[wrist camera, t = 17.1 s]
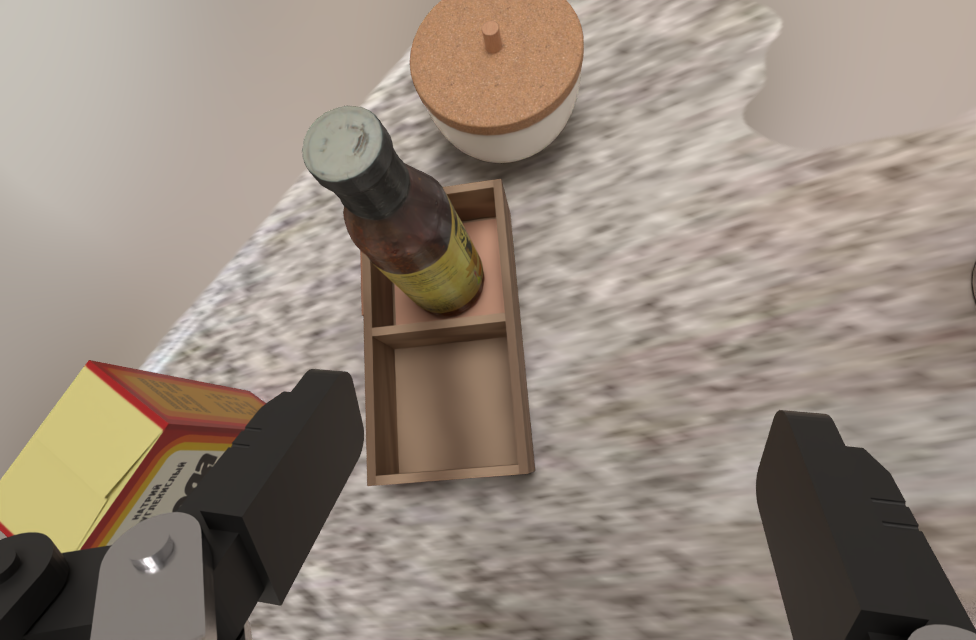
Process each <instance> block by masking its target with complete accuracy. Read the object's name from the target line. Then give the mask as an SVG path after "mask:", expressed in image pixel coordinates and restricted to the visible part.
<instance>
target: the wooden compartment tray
mask: <svg viewBox="0 0 976 640" xmlns="http://www.w3.org/2000/svg"><path fill="white" fill-rule="evenodd" d="M443 189H444V191H445V192H446V194H447V196H448V198H449V199H450V201H451V203H452V205H453V207H454V209H455V211H456V213H457V215H458V216H459V218H460V219H461V222H462V223H463V226H464V228H465V229H466V232H467V233H468V235H469V237H470V239H471V241H472V243H473V245H474V247H475V249H476V250H477V252H478V254H479V256H480V258H481V261H482V266H483V272H484V277H485V280H484V285H483V290H482V292H481V295H480V297H479V298H478V300H477V301H476V302H475V303H474V304H473V305H472V306H471V307H470V308H468V309H467V310H465V311H463V312H462V313H460V314H457V315H454V316H442V315H435V314H432V313H430V312H427V311H426V310H424V309H422V308H421V307H419V306H418V305H417V304H416V303H414V302H413V301H412V300H411V299H410V298H409V297H408V296H407V295H406V294H405V293H404V292H403V291H401V290H400V289H399V288H398V287H397V286H396V285H395V284H394V283H393V282H392V281H391V280H390V279H389V278H387V277H386V276H385V275H384V274H383V273H382V272H381V271H380V270H379V269H378V268H377V267H376V266H375V265H374V264H373V263H372V262H371V261H370V260H369V259H368V257H367V256H366V255H365V254H364V253H362V252H361V250H360V255H361V302H362V316H364V359H365V404H366V450H367V486H375V485H388V484H401V483H414V482H427V481H440V480H453V479H466V478H479V477H491V476H504V475H517V474H529V473H531V472H534V471H535V464H534V454H533V443H532V433H531V423H530V412H529V402H528V391H527V381H526V371H525V360H524V350H523V340H522V329H521V319H520V309H519V298H518V288H517V278H516V267H515V257H514V247H513V236H512V226H511V215H510V210H509V207H508V203H507V199H506V195H505V192H504V188H503V184H502V180H501V179H495V180H488V181H481V182H474V183H468V184H461V185H454V186H447V187H443Z"/></svg>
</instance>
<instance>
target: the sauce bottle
mask: <svg viewBox="0 0 976 640" xmlns="http://www.w3.org/2000/svg"><path fill="white" fill-rule="evenodd" d="M302 152H303V159H304V163H305V165H306V167H307V169H308V170H309V172H310V173H311V174H312V175H313V176H314V178H315V179H316V180H317V181H318V182H319V183H320V184H321V185H322V186H323V187H325V188H327V189H328V190H330V191H332V192H334V193H335V194H336V195H337V196H338V197H339V198H340V199H341V202H342V204H343V205H344V211H343V214H344V220H345V224H346V227H347V230H348V233H349V235H350V237H351V239H352V240H353V242H354V243H355V245H356V246H357V247H358V248H359V249H360V250H361V252H362V253H364V254H365V255H366V256H367V257H368V259H369V260H370V261H371V262H372V263H373V264H374V265H375V266H376V267H377V268H378V269H379V270H380V271H381V272H382V273H383V274H384V275H385V276H386V277H387V278H389V279H390V280H391V281H392V282H393V283H394V284H395V285H396V286H397V287H398V288H399V289H400V290H401V291H403V292H404V293H405V294H406V295H407V296H408V297H409V298H410V299H411V300H412V301H413V302H414V303H416V304H417V305H418V306H419V307H421V308H422V309H424V310H426V311H427V312H430V313H432V314H435V315H442V316H454V315H457V314H460V313H462V312H463V311H465V310H467V309H468V308H470V307H471V306H472V305H473V304H474V303H475V302H476V301H477V300H478V298H479V297H480V295H481V292H482V290H483V285H484V280H485V277H484V272H483V266H482V261H481V258H480V256H479V254H478V252H477V250H476V249H475V247H474V245H473V243H472V241H471V239H470V237H469V235H468V233H467V232H466V229H465V228H464V226H463V223H462V222H461V219H460V218H459V216H458V215H457V213H456V211H455V209H454V207H453V205H452V203H451V201H450V199H449V198H448V196H447V194H446V192H445V191H444V189H443V187H442V186H441V185H440V184H439V182H438V181H437V180H435V179H434V178H433V177H431V176H430V175H428V174H426V173H424V172H422V171H419V170H417V169H415V168H413V167H411V166H409V165H407V164H405V163H404V162H403V161H402V160H401V159H400V158H399V157H398V155H397V154H396V152H395V150H394V148H393V144H392V140H391V136H390V135H389V133H388V132H387V130H386V129H385V127H384V126H383V125H382V123H381V122H380V120H379V119H378V118H377V117H376V116H375V115H374V114H373V113H372V112H371V111H369V110H367V109H365V108H362V107H356V106H344V107H340V108H336V109H333V110H330V111H328V112H326V113H324V114H323V115H322V116H320V117H319V118H317V120H316V121H315V122H314V123H313V124H312V125H311V127H310V128H309V130H308V131H307V134H306V136H305V139H304V145H303V148H302Z"/></svg>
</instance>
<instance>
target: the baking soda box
mask: <svg viewBox="0 0 976 640" xmlns="http://www.w3.org/2000/svg"><path fill="white" fill-rule="evenodd" d="M265 404H266V403H265V402H263V401H262V400H261V399H259V398H258V397H257V396H255V395H254V394H253V393H251V392H250V391H246V390H241V389H236V388H230V387H225V386H220V385H215V384H210V383H205V382H199V381H194V380H189V379H184V378H179V377H174V376H169V375H163V374H158V373H153V372H148V371H143V370H138V369H132V368H127V367H122V366H117V365H111V364H107V363H101V362H96V361H91V360H89V361H88V362H87V364H86V365H85V366H84V368H83V369H82V370H81V372H80V373H79V374H78V376H77V377H76V378H75V380H74V381H73V382H72V384H71V385H70V386H69V388H68V389H67V391H66V392H65V393H64V395H63V396H62V397H61V399H60V400H59V401H58V403H57V404H56V405H55V407H54V408H53V410H52V411H51V412H50V414H49V415H48V416H47V418H46V419H45V420H44V422H43V423H42V424H41V426H40V427H39V429H38V430H37V432H36V433H35V434H34V436H33V437H32V438H31V439H30V441H29V442H28V443H27V445H26V446H25V448H24V449H23V450H22V452H21V453H20V454H19V456H18V457H17V458H16V460H15V461H14V463H13V464H12V465H11V467H10V468H9V469H8V471H7V472H6V473H5V475H4V476H3V477H2V479H1V480H0V530H1V531H2V532H3V533H4V534H5V535H6V536H7V537H10V536H13V535H17V534H21V533H27V532H38V533H43V534H45V535H47V536H48V537H49V538H50V539H51V540H52V541H53V543H54V544H55V545H56V547H57V548H58V549H59V551H60V552H61V553H64V552H71V551H77V550H83V549H90V548H96V547H103V546H109V545H113V543H114V542H115V541H116V540H117V539H118V538H119V537H120V536H121V535H123V534H124V533H125V532H126V531H128V530H129V529H130V528H132V527H133V526H135V525H136V524H138V523H140V522H142V521H144V520H146V519H148V518H151V517H153V516H156V515H160V514H164V513H169V512H176V511H177V510H178V508H179V507H180V506H181V505H182V504H183V502H184V501H185V500H186V499H187V497H188V496H189V495H190V494H191V493H192V491H193V490H194V489H195V488H196V486H197V485H198V484H199V483H200V482H201V480H202V479H203V478H204V477H205V475H206V474H207V473H208V472H209V470H210V469H211V468H212V467H213V466H214V464H215V463H216V462H217V461H218V459H219V458H220V457H221V456H222V454H223V453H224V452H225V451H226V450H227V448H228V447H231V446H232V442H233V441H234V440H235V438H236V437H237V436H238V435H239V434H240V432H241V431H244V430H245V426H246V425H247V424H248V422H249V421H250V420H251V419H252V418H253V416H254V415H255V414H256V413H257V411H258V410H259V409H260V408H261V407H262V406H264V405H265Z"/></svg>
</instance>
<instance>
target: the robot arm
mask: <svg viewBox="0 0 976 640" xmlns="http://www.w3.org/2000/svg"><path fill="white" fill-rule="evenodd" d="M973 290H974V295H975V299H976V265H975V268H974V271H973ZM363 441H364V428H363V423H362V418H361V414H360V410H359V405H358V401H357V397H356V392H355V388H354V384H353V380H352V377H351V375H350V374H349V373H348V372H343V371H332V370H320V369H311V370H309V371H307V372H306V373H305V375H304V376H303V377H302V378H301V380H300V381H299V382H298V384H297V385H296V386H295V388H294V389H293V390H292V391H291V392H282V393H281V394H279V395H278V396H276V397H275V398H274V399H272V400H271V401H269V402H268V403H266V404H265V405H264V406H262V407H261V408H260V409H259V410H258V411H257V413H256V414H255V415H254V416H253V418H252V419H251V420H250V421H249V422H248V424H247V425H246V426H245V430H244V431H241V432H240V434H239V435H238V436H237V437H236V438H235V440H234V441H233V442H232V446H231V447H228V448H227V450H226V451H225V452H224V453H223V454H222V456H221V457H220V458H219V459H218V461H217V462H216V463H215V464H214V466H213V467H212V468H211V469H210V470H209V472H208V473H207V474H206V475H205V477H204V478H203V479H202V480H201V482H200V483H199V484H198V485H197V486H196V488H195V489H194V490H193V491H192V493H191V494H190V495H189V496H188V497H187V499H186V500H185V501H184V502H183V504H182V505H181V506H180V507H179V508H178V510H177V511H176V512H169V513H164V514H160V515H156V516H153V517H151V518H148V519H146V520H144V521H142V522H140V523H138V524H136V525H135V526H133V527H132V528H130V529H129V530H128V531H126V532H125V533H124V534H123V535H121V536H120V537H119V538H118V539H117V540H116V541H115V542H114V543H113V545H109V546H103V547H96V548H90V549H83V550H77V551H71V552H64V553H61V552H60V551H59V549H58V548H57V547H56V545H55V544H54V543H53V541H52V540H51V539H50V538H49V537H48V536H47V535H45V534H43V533H38V532H27V533H21V534H17V535H13V536H10V537H7V538H4V539H2V540H0V640H252V634H251V627H250V623H249V621H248V618H249V616H250V614H251V613H252V611H253V609H254V607H255V606H256V604H257V602H264V603H269V604H275V605H282V603H283V601H284V599H285V597H286V596H287V594H288V592H289V590H290V588H291V586H292V584H293V582H294V580H295V578H296V577H297V575H298V573H299V571H300V569H301V567H302V565H303V563H304V561H305V560H306V558H307V556H308V554H309V552H310V550H311V548H312V546H313V544H314V542H315V541H316V539H317V537H318V535H319V533H320V531H321V529H322V527H323V525H324V523H325V522H326V520H327V518H328V516H329V514H330V512H331V510H332V508H333V506H334V505H335V503H336V501H337V499H338V497H339V495H340V493H341V491H342V489H343V487H344V486H345V484H346V482H347V480H348V478H349V476H350V474H351V472H352V470H353V468H354V467H355V465H356V463H357V461H358V459H359V457H360V454H361V451H362V447H363ZM756 496H757V504H758V508H759V512H760V516H761V520H762V523H763V527H764V531H765V535H766V538H767V542H768V546H769V550H770V554H771V557H772V561H773V565H774V569H775V572H776V576H777V580H778V584H779V587H780V591H781V595H782V599H783V602H784V606H785V610H786V614H787V618H788V621H789V625H790V629H791V633H792V636H793V640H976V629H975V627H974V626H973V624H972V622H971V620H970V618H969V617H968V615H967V613H966V611H965V609H964V607H963V606H962V604H961V602H960V600H959V598H958V596H957V595H956V593H955V591H954V589H953V587H952V585H951V584H950V582H949V580H948V578H947V576H946V575H945V573H944V571H943V569H942V567H941V565H940V564H939V562H938V560H937V558H936V556H935V554H934V553H933V551H932V549H931V547H930V545H929V543H928V542H927V540H926V538H925V536H924V534H923V532H922V531H919V530H918V526H919V525H918V523H917V521H916V520H915V518H914V516H913V514H912V512H911V510H910V509H909V507H906V506H905V502H906V501H905V499H904V498H903V496H902V494H901V492H900V490H899V488H898V487H897V485H896V483H895V481H894V479H893V477H892V476H891V474H890V473H889V472H888V471H887V470H886V469H885V468H884V467H883V466H882V465H881V464H880V463H879V462H878V461H877V460H875V459H874V458H873V457H872V456H871V455H870V454H869V453H868V452H867V451H866V450H865V449H864V448H857V447H847V446H845V444H844V442H843V440H842V438H841V436H840V434H839V432H838V430H837V428H836V425H835V423H834V421H833V420H832V418H831V417H830V416H829V415H827V414H819V413H808V412H796V411H784V410H779V411H778V412H777V413H776V414H775V416H774V419H773V422H772V425H771V429H770V432H769V435H768V439H767V442H766V445H765V448H764V452H763V455H762V458H761V462H760V465H759V468H758V472H757V479H756Z"/></svg>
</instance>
